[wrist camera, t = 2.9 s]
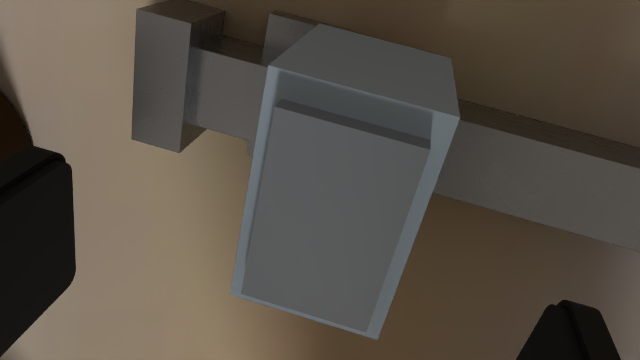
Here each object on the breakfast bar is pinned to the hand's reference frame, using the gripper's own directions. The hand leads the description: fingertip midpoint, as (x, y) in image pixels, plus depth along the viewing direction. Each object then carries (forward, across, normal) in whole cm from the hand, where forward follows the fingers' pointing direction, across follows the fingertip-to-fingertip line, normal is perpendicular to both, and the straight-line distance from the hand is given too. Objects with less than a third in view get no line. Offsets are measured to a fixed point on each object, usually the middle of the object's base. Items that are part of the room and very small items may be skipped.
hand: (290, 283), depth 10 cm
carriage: (+11, 0, +1) cm, 11 cm away
